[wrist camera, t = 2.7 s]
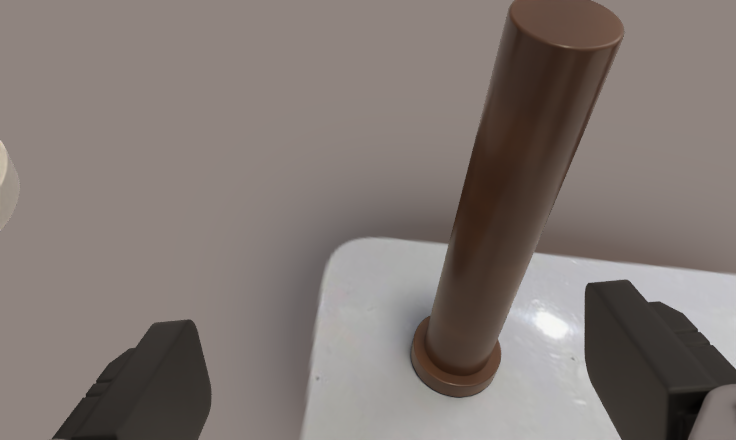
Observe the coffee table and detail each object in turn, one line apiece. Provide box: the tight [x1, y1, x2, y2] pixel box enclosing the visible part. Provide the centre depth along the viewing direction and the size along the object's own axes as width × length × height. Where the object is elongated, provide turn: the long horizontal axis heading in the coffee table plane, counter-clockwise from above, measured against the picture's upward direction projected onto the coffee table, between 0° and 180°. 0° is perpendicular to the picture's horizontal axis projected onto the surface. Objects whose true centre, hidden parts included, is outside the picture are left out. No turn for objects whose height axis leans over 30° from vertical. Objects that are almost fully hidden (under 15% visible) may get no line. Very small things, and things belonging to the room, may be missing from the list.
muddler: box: [411, 0, 624, 397], centre depth 22 cm, size 4×4×17 cm
